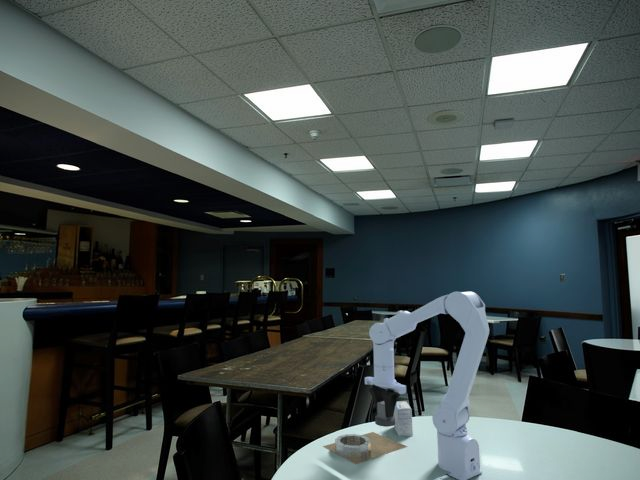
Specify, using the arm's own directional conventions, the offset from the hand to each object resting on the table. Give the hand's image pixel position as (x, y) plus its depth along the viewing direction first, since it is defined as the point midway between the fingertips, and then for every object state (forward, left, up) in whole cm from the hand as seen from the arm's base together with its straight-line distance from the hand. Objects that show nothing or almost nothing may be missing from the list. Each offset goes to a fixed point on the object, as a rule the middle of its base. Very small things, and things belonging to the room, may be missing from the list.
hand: (385, 415), depth 112 cm
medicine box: (+6, -13, -10) cm, 17 cm away
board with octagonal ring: (+4, +5, -9) cm, 11 cm away
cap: (0, 0, -2) cm, 2 cm away
